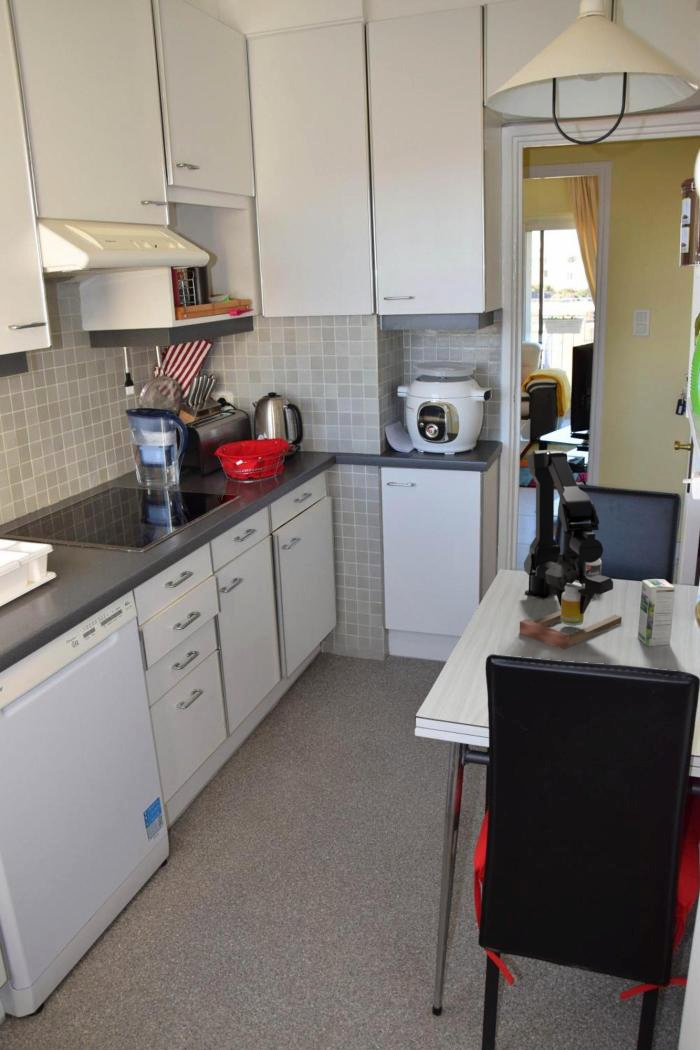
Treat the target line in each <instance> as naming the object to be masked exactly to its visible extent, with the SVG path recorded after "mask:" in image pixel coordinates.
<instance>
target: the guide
mask: <svg viewBox="0 0 700 1050" xmlns="http://www.w3.org/2000/svg"><path fill="white" fill-rule="evenodd" d="M622 619H623V618H622V616H621V615H617V614H612V615H610V616H608V617H606V618H603V619H602V620H599V621H597V622H595V623H592V624H590V625H589V626H586V627H583V628H581V629H578V630H576V631H574V632H572V633H570V634H568V633H565V632H562V631H559V630H557V629H554V628H551V627H549V626H552V625H554V624H556V623H559V622H561V609H560V610H557V611H555V612H552V613H550V614H548V615H545V616H542V617H541V618H538V619H535V620H533V621H530V620H528V619H523V620H520V621H519V634H521V635H524V636H526V637H529V638H532V639H533V640H537V641H540V642H543V643H546V644H548V645H551V646H554V647H556V648H559V649H561V650H565V649H568V647H571V646H573V645H576V644H578V643H580V642H582V641H584V640H586V639H589V638H591V637H593V636H596V635H598V634H600V633H602V632H604V631H606V630H608V629H611V628H613V627H615V626H617V625H619V624H622Z"/></svg>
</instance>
